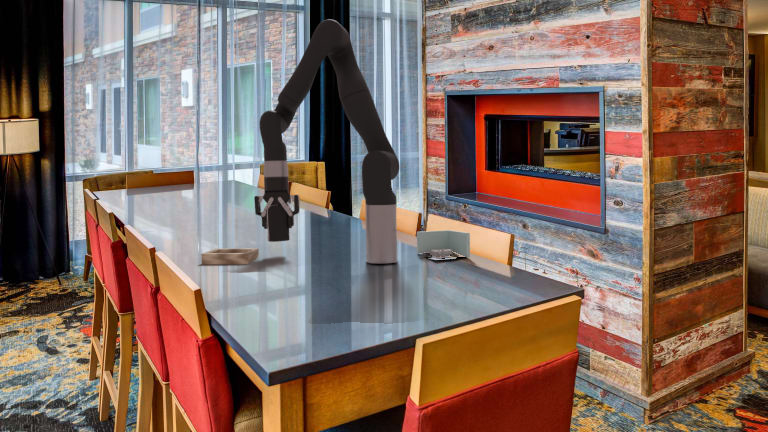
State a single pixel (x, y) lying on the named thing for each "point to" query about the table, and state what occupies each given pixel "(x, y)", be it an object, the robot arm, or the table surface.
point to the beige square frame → (229, 256)
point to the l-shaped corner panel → (443, 243)
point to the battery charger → (277, 223)
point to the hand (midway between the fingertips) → (278, 228)
